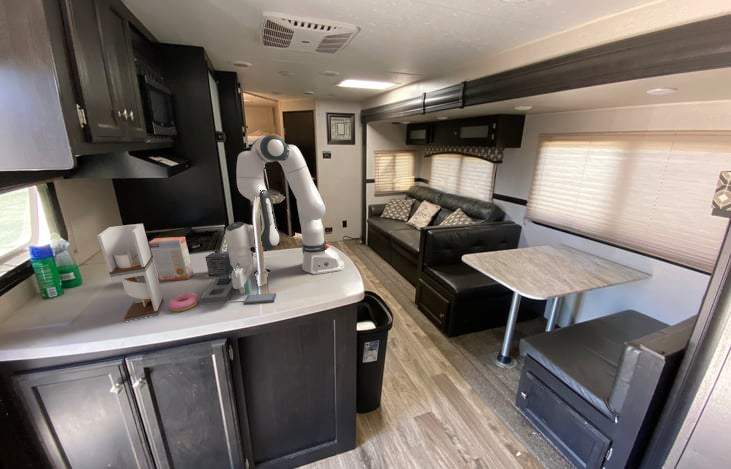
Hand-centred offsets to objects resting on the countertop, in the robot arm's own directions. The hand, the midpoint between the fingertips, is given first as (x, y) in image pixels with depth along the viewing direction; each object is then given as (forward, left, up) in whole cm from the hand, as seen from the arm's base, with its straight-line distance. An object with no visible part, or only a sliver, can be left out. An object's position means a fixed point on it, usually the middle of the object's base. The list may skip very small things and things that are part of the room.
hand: (245, 287), depth 131 cm
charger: (0, 0, -2) cm, 2 cm away
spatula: (-4, +8, -2) cm, 9 cm away
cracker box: (+39, -20, -2) cm, 44 cm away
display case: (+37, +10, -2) cm, 38 cm away
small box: (+18, -22, -2) cm, 29 cm away
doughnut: (+23, +8, -2) cm, 24 cm away
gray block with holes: (+11, -1, -2) cm, 11 cm away
